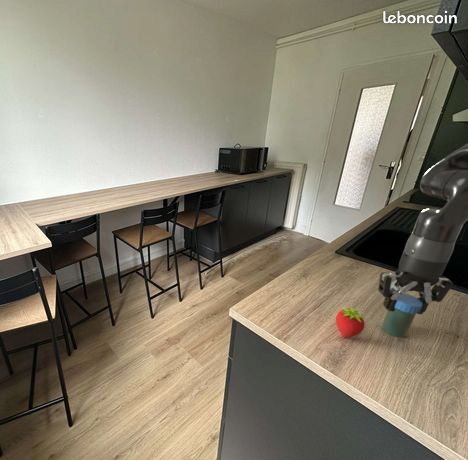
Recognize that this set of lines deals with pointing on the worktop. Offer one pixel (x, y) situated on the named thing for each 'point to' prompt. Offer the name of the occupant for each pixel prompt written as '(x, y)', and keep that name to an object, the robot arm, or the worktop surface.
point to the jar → (397, 323)
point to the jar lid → (408, 304)
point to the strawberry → (349, 322)
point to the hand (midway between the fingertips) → (402, 310)
